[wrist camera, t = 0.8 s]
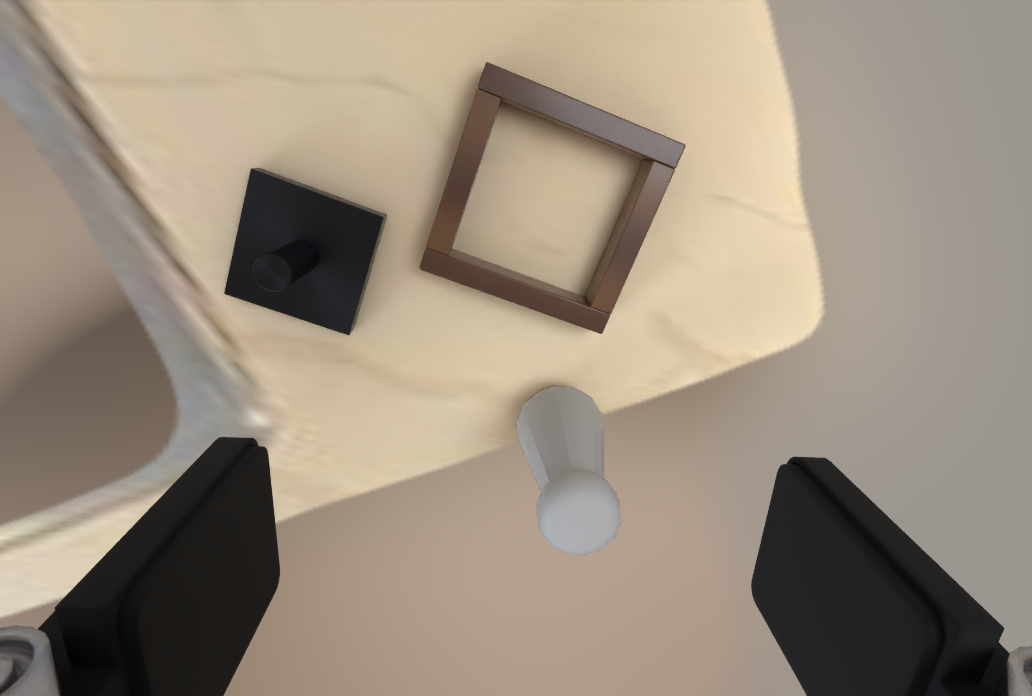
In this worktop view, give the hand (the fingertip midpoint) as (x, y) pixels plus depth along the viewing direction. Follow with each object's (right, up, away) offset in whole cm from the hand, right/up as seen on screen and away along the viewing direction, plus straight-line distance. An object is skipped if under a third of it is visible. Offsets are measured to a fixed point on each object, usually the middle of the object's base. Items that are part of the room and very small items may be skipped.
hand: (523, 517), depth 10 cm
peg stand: (-13, +9, +26) cm, 30 cm away
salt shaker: (+3, -1, +30) cm, 30 cm away
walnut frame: (+2, +12, +25) cm, 28 cm away
